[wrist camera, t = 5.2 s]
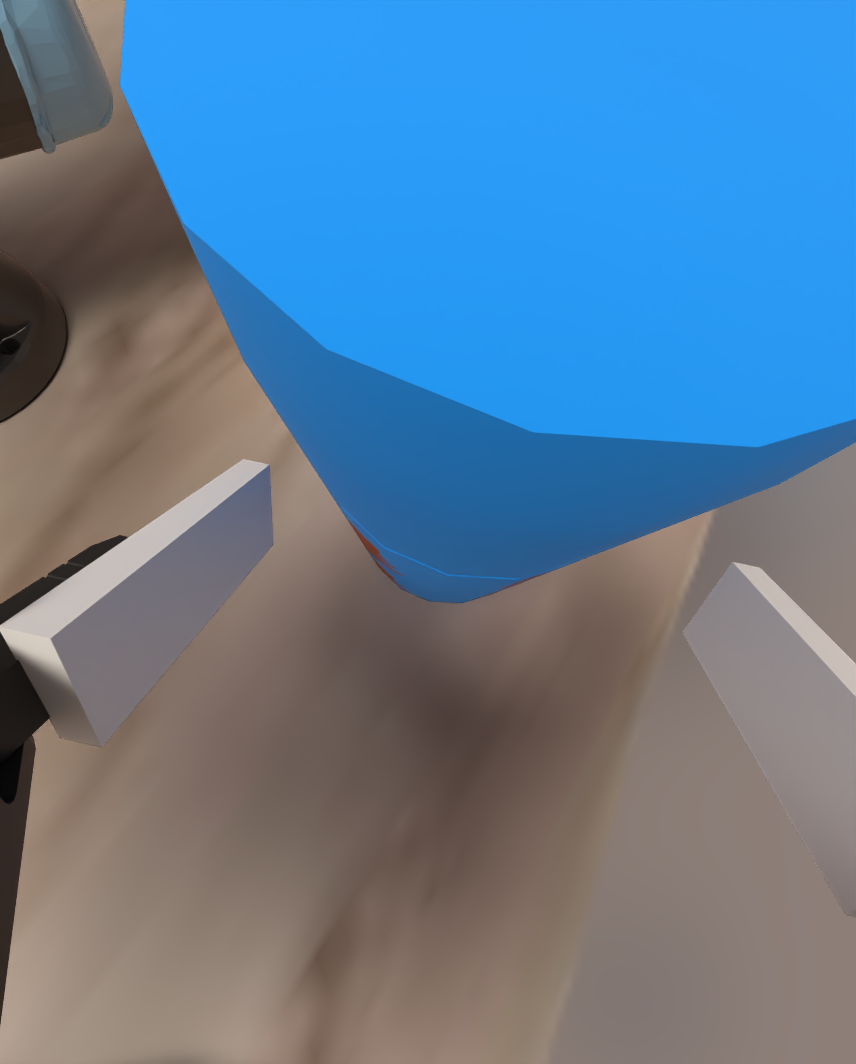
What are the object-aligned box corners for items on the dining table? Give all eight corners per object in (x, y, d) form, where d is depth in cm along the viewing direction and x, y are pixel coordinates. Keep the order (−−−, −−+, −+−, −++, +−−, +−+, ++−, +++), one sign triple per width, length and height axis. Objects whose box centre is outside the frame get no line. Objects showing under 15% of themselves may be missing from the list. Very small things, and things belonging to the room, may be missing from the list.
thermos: (520, 464, 30) (976, -220, 6) (520, 609, 28) (1311, 507, 3) (375, 455, 30) (200, -296, 5) (362, 600, 27) (-60, 418, 3)
